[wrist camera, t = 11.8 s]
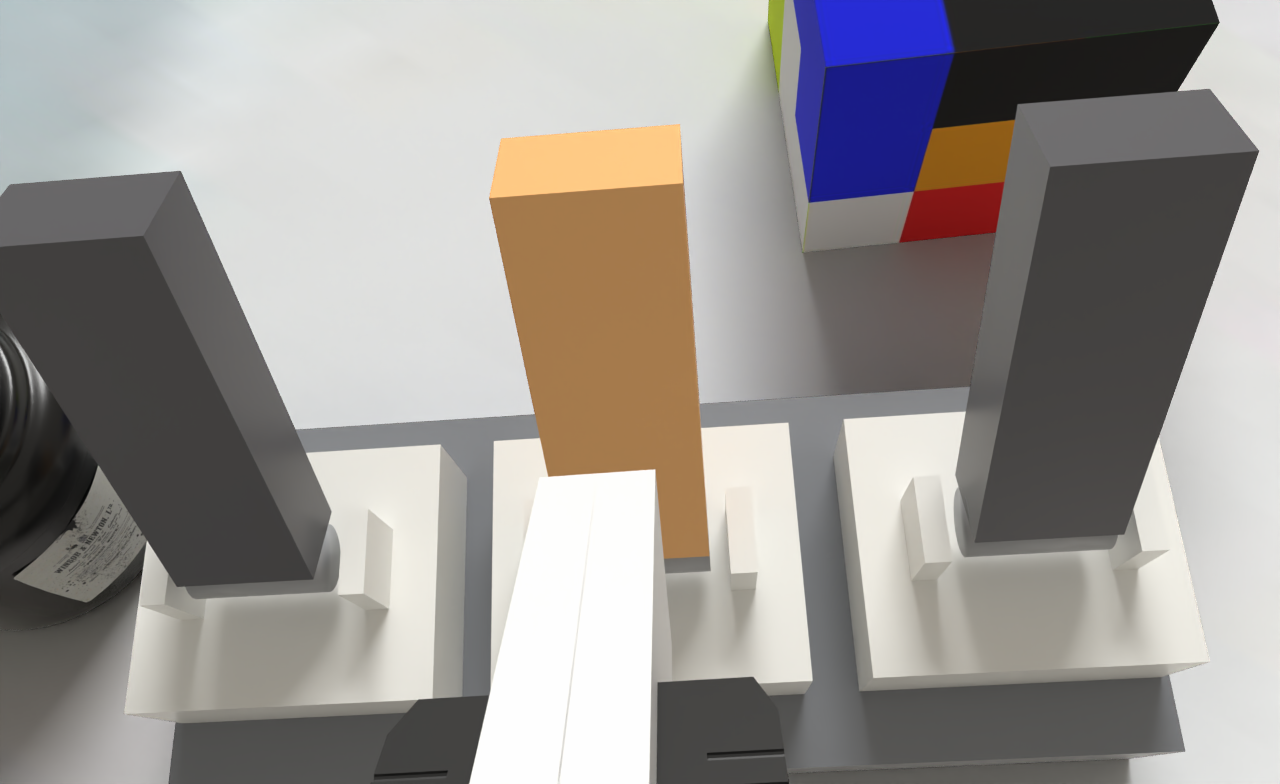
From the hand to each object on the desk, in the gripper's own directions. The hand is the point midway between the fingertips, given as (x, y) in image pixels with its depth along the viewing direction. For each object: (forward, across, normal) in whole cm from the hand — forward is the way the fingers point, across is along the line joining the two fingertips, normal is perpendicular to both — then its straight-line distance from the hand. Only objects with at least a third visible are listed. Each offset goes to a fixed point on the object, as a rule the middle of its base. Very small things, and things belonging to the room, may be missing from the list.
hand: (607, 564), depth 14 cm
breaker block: (+16, 0, -11) cm, 19 cm away
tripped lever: (+10, 0, -5) cm, 11 cm away
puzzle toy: (+28, +10, 0) cm, 29 cm away
